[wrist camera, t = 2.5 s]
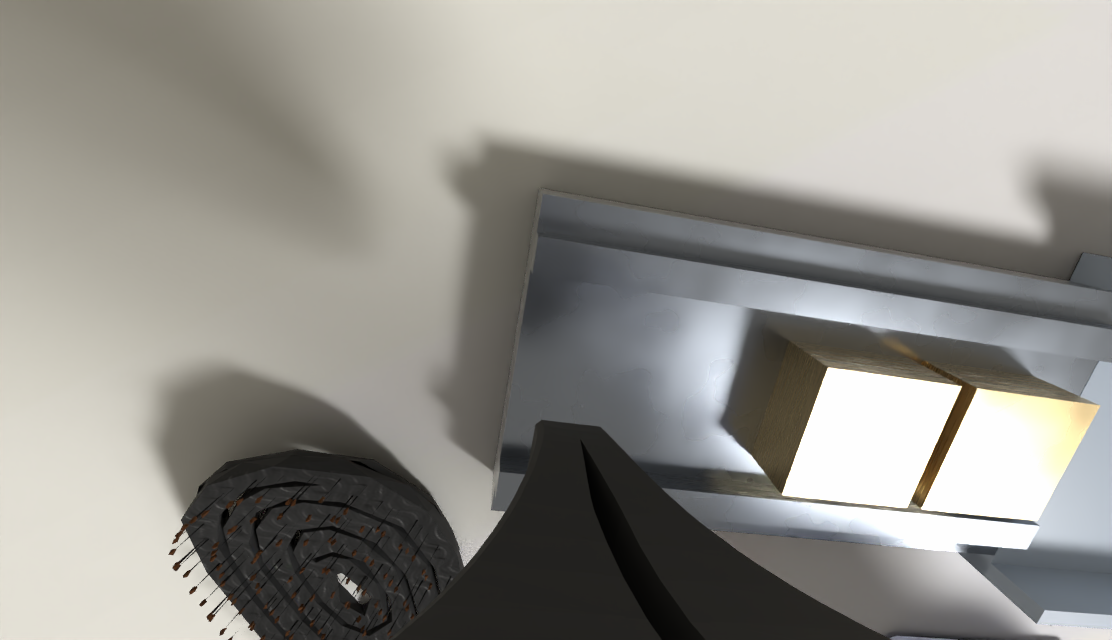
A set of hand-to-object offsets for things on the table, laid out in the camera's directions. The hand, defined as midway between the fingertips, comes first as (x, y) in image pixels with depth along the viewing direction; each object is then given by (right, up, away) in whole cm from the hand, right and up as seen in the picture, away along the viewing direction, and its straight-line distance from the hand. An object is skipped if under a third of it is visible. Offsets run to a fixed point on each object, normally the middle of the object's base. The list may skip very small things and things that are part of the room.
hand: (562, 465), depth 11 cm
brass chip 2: (+13, 0, +6) cm, 14 cm away
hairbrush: (-7, -12, +11) cm, 17 cm away
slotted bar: (+8, +1, +7) cm, 11 cm away
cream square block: (+8, 0, +6) cm, 10 cm away
